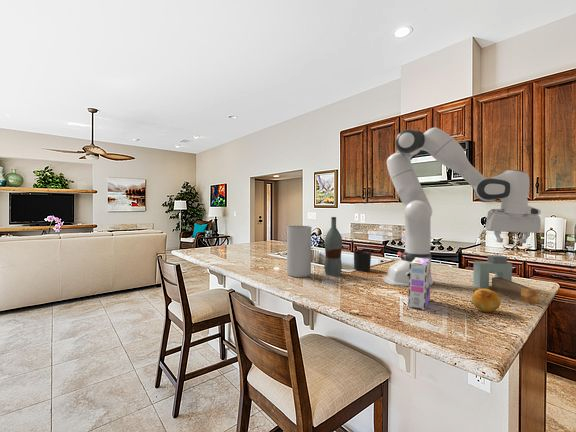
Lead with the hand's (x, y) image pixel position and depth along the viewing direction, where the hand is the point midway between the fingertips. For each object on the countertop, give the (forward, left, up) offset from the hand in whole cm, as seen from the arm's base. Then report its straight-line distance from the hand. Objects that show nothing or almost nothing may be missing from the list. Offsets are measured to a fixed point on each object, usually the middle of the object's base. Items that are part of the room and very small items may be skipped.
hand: (511, 242), depth 124 cm
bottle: (-69, +32, -22) cm, 79 cm away
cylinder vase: (-87, +30, -22) cm, 95 cm away
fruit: (-23, -20, -22) cm, 38 cm away
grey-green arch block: (0, +11, -22) cm, 24 cm away
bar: (0, -2, -22) cm, 22 cm away
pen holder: (-51, +43, -22) cm, 70 cm away
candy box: (-43, -13, -22) cm, 50 cm away
